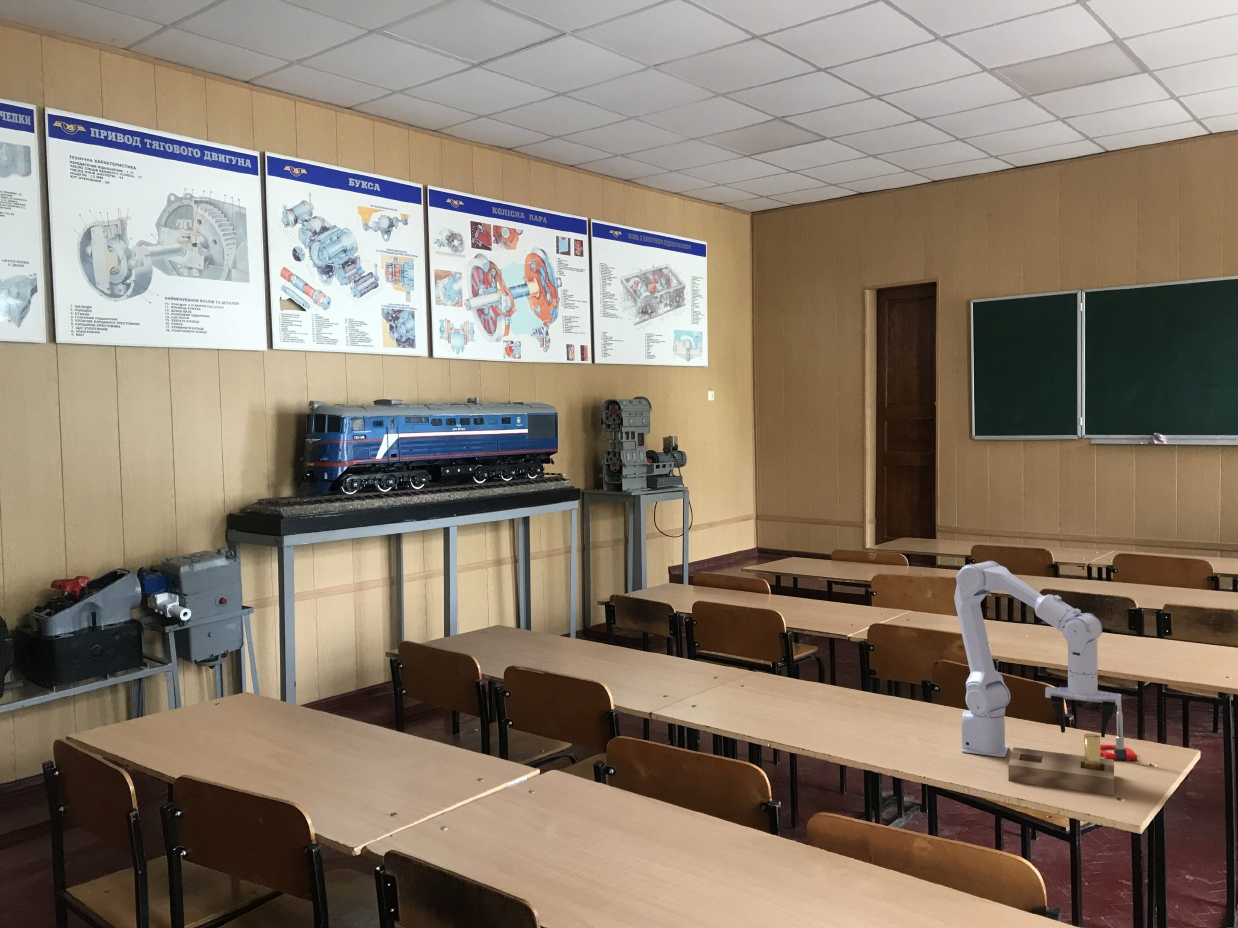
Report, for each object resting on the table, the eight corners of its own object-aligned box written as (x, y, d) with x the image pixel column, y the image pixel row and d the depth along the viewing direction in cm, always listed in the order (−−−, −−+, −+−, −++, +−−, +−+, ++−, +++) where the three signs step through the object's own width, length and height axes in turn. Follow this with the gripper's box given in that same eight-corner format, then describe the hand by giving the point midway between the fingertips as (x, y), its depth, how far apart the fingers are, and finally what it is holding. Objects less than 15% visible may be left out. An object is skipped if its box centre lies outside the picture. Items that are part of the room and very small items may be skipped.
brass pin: (1084, 783, 197) (1084, 736, 197) (1084, 778, 200) (1084, 732, 200) (1100, 785, 196) (1100, 738, 196) (1100, 780, 199) (1099, 734, 199)
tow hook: (1087, 748, 220) (1101, 760, 211) (1086, 693, 220) (1100, 703, 211) (1125, 749, 219) (1141, 761, 209) (1124, 694, 219) (1140, 704, 210)
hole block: (1008, 780, 200) (1008, 764, 200) (1013, 762, 211) (1013, 747, 211) (1114, 795, 191) (1113, 778, 191) (1114, 775, 201) (1113, 759, 201)
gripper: (1044, 672, 201) (1044, 734, 201) (1120, 679, 194) (1121, 743, 194) (1046, 664, 207) (1046, 725, 207) (1120, 671, 200) (1121, 733, 200)
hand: (1082, 733), depth 201 cm, fingers open, 7 cm apart
